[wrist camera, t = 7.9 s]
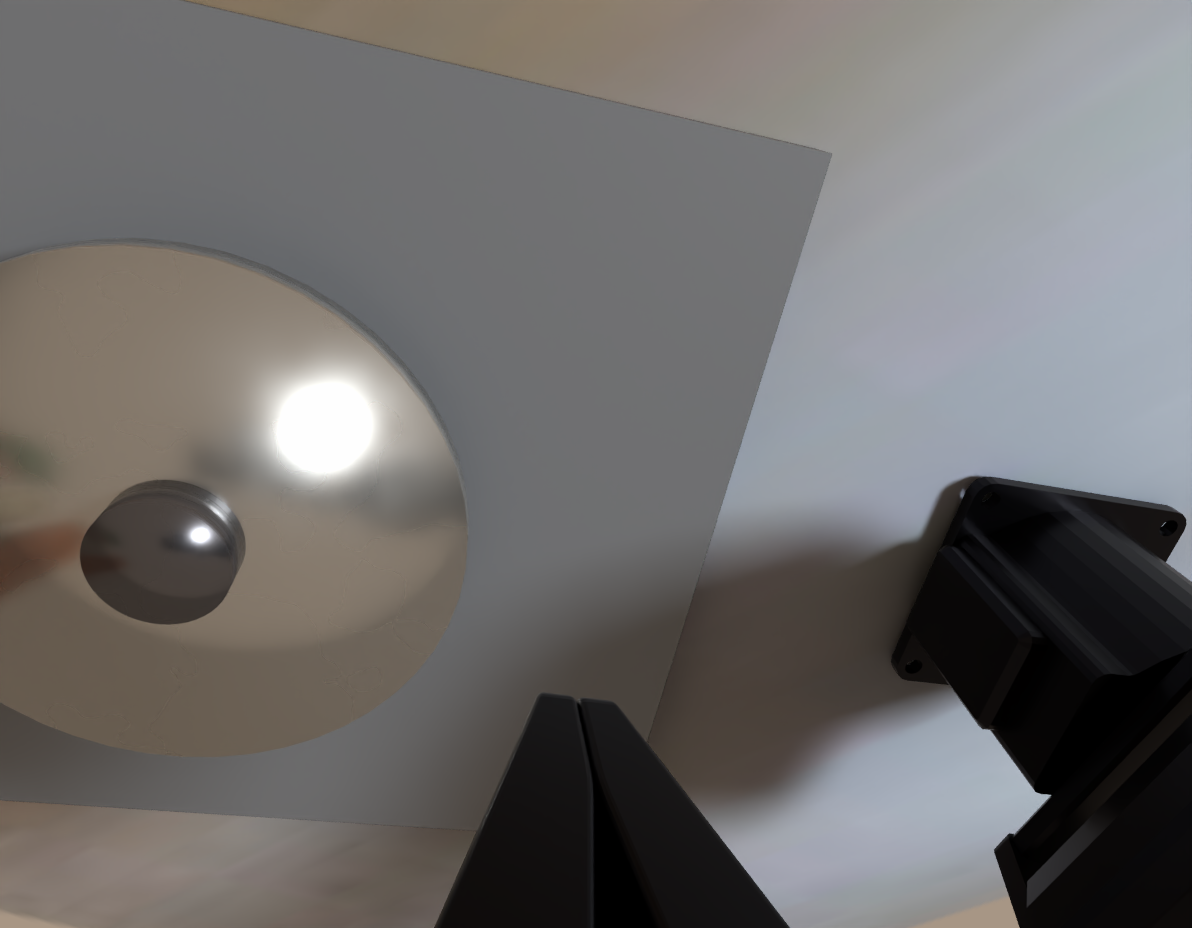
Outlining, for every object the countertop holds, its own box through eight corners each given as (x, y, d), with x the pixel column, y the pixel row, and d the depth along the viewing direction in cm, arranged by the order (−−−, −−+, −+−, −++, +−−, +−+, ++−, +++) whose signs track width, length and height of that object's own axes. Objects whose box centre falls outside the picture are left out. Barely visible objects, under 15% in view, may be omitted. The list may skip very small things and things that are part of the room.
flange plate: (308, 139, 15) (240, 168, 11) (546, 634, 20) (558, 773, 16) (-532, 473, 16) (-867, 609, 12) (-94, 862, 21) (-228, 1044, 17)
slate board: (815, 148, 18) (920, 178, 14) (611, 813, 26) (635, 968, 22) (-546, -172, 14) (-1056, -284, 9) (-282, 750, 22) (-483, 929, 17)
